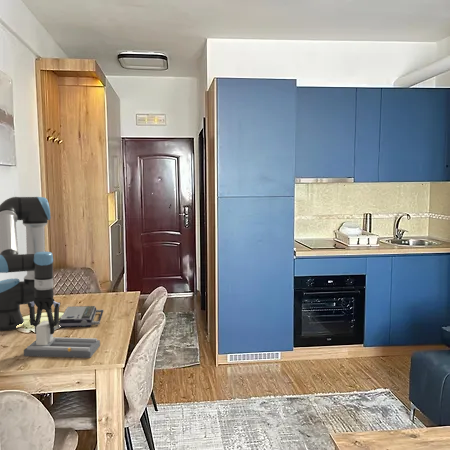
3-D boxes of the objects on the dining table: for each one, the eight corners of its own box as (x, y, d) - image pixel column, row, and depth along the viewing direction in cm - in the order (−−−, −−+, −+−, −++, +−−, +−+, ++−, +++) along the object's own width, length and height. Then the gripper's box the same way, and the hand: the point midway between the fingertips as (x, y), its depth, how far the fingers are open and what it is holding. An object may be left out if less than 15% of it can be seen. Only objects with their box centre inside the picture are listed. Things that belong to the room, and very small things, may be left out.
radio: (66, 305, 249) (103, 304, 253) (66, 314, 250) (103, 313, 253) (57, 318, 225) (99, 317, 229) (57, 329, 226) (99, 327, 229)
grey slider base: (23, 356, 190) (23, 347, 189) (37, 344, 204) (37, 336, 203) (90, 357, 190) (90, 349, 189) (99, 345, 204) (99, 337, 203)
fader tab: (33, 347, 193) (33, 326, 192) (41, 340, 200) (41, 320, 200) (48, 347, 192) (47, 326, 192) (55, 340, 200) (54, 321, 200)
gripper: (20, 289, 190) (21, 343, 193) (60, 290, 190) (61, 344, 193) (27, 285, 198) (28, 337, 200) (67, 286, 198) (67, 338, 200)
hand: (44, 340), depth 196 cm, fingers closed on fader tab, 4 cm apart
